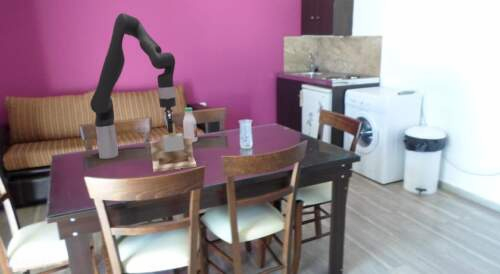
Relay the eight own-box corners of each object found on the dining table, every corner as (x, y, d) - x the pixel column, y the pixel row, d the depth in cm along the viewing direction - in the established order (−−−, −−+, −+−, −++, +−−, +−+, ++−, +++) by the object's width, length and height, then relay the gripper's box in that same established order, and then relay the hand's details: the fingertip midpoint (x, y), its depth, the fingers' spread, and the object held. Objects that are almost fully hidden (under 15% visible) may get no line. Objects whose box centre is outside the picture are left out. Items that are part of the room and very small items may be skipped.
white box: (165, 152, 185) (161, 125, 181) (164, 149, 189) (161, 123, 186) (184, 149, 187) (181, 123, 183) (183, 146, 191) (180, 121, 188)
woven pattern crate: (153, 172, 179) (150, 149, 176) (152, 163, 192) (150, 141, 189) (196, 166, 184) (194, 144, 181) (192, 158, 197) (191, 137, 194)
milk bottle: (191, 143, 223) (188, 109, 218) (181, 142, 227) (178, 108, 222) (200, 140, 230) (197, 107, 224) (190, 139, 234) (187, 106, 228)
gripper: (158, 95, 186) (161, 129, 191) (159, 99, 174) (163, 136, 178) (174, 93, 188) (177, 128, 193) (176, 98, 175) (179, 134, 180)
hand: (170, 132), depth 185 cm, fingers closed on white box
